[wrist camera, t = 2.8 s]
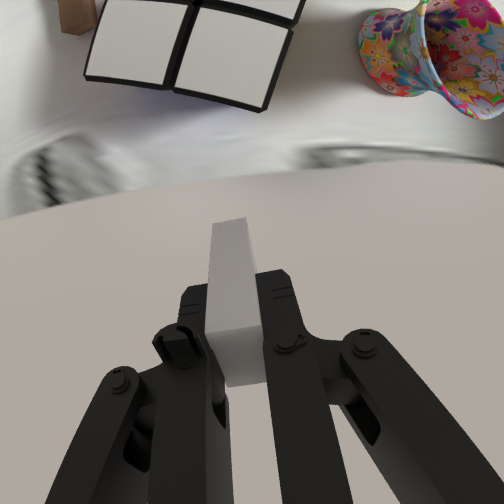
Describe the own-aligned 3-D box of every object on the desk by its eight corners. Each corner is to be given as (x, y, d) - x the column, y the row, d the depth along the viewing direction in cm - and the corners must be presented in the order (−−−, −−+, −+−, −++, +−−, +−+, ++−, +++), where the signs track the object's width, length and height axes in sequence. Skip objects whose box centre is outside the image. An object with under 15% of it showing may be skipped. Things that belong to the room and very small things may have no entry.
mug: (344, 86, 21) (412, 93, 12) (353, -7, 17) (418, -44, 7) (450, 118, 22) (527, 147, 13) (459, 37, 18) (537, 40, 9)
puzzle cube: (135, 80, 20) (78, 80, 11) (170, -25, 15) (137, -76, 7) (253, 105, 22) (266, 116, 13) (289, 0, 17) (324, -45, 9)
